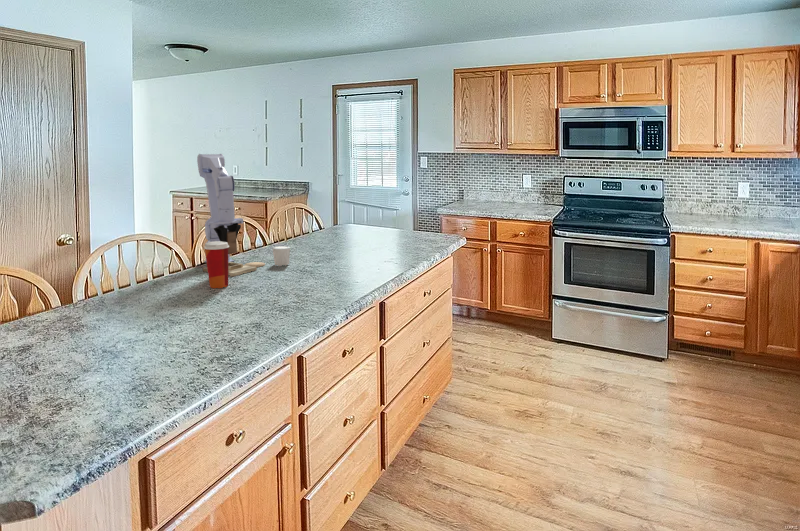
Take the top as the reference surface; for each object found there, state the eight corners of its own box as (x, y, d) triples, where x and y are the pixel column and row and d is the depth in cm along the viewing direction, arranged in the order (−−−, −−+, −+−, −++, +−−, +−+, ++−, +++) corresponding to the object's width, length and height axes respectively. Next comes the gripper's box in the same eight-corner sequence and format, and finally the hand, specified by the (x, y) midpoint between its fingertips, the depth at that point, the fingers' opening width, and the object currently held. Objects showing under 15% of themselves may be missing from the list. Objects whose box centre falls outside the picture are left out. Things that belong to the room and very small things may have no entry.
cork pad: (240, 265, 226) (240, 264, 226) (254, 262, 233) (254, 261, 233) (254, 268, 222) (254, 267, 222) (269, 264, 229) (269, 263, 229)
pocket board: (203, 271, 217) (202, 265, 216) (227, 265, 227) (226, 259, 227) (233, 276, 209) (232, 269, 208) (256, 270, 219) (256, 264, 219)
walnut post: (221, 253, 216) (220, 232, 214) (229, 251, 219) (228, 230, 217) (229, 254, 214) (227, 233, 212) (237, 252, 217) (235, 231, 215)
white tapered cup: (286, 266, 226) (285, 249, 224) (270, 265, 227) (269, 248, 225) (293, 262, 232) (292, 246, 231) (277, 262, 233) (276, 245, 232)
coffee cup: (221, 282, 200) (218, 240, 197) (236, 285, 196) (234, 242, 192) (201, 287, 193) (197, 243, 190) (216, 290, 189) (213, 246, 186)
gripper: (218, 211, 205) (221, 248, 208) (248, 207, 217) (250, 242, 220) (205, 210, 208) (207, 246, 211) (235, 206, 221) (237, 241, 223)
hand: (228, 244), depth 216 cm, fingers closed on walnut post, 4 cm apart
